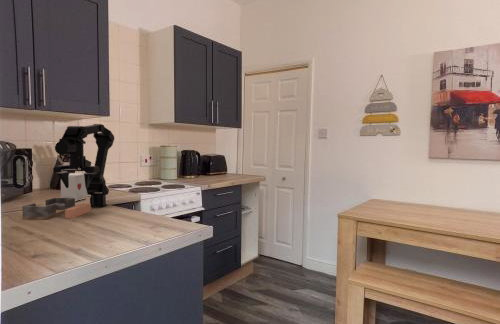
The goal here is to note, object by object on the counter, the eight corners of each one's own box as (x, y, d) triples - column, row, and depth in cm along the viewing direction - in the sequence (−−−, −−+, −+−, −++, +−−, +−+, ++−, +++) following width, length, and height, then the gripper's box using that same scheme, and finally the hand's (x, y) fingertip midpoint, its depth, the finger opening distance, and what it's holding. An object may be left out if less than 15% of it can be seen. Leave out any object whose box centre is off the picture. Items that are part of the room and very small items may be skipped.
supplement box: (76, 202, 168) (76, 175, 167) (60, 202, 169) (59, 174, 168) (86, 199, 177) (85, 173, 176) (70, 199, 178) (69, 173, 177)
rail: (83, 211, 149) (83, 203, 149) (90, 211, 149) (90, 203, 149) (65, 218, 135) (64, 209, 135) (73, 218, 135) (72, 209, 135)
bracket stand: (75, 209, 152) (74, 198, 152) (46, 219, 132) (46, 206, 132) (54, 208, 153) (54, 197, 152) (22, 219, 132) (22, 206, 132)
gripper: (105, 153, 148) (106, 186, 149) (67, 153, 149) (68, 185, 150) (92, 154, 137) (93, 189, 138) (51, 153, 138) (52, 188, 139)
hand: (77, 188), depth 141 cm, fingers open, 9 cm apart
